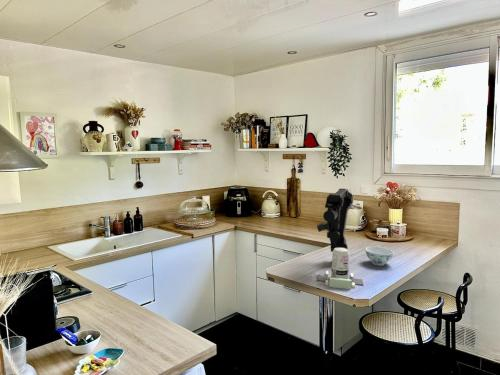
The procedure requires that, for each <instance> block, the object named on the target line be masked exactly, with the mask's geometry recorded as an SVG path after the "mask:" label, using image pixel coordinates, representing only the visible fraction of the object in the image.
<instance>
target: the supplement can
mask: <svg viewBox="0 0 500 375" xmlns="http://www.w3.org/2000/svg"><path fill="white" fill-rule="evenodd" d="M331 261H332V262H331V276H330V277H331V278H342V279H349V272H350V271H349V267H350V251H349V248H348V249H346V248H334V250H333V252H332V256H331Z"/></svg>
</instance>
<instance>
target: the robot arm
mask: <svg viewBox="0 0 500 375" xmlns="http://www.w3.org/2000/svg"><path fill="white" fill-rule="evenodd" d="M353 204H354V195H353V194H352V193H351V192H350V191H349V189H348V188H338V190H337V191H336V192H334V193H329V194H328V195H327V196H326V201H325V205H324V208H325V209H327V210H326V211H324V212H323V216H322V217H323V219H324V221H325V222H321V223H318V224H316V228H317V230H318V232H319V233H320V232H324V231H325V230H326V231H327V232H326V238H327V239H329V242H330V252H332V253H333V250H334V248H346V249H348V250H349V248H348V244H347V240H346V237H345V233H346V227H347V226H346V225H347V219H348V213H349V210H350V209H351V208H352V205H353ZM330 262H331V263H332V260H331V261H330Z"/></svg>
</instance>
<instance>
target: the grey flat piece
mask: <svg viewBox="0 0 500 375" xmlns="http://www.w3.org/2000/svg"><path fill="white" fill-rule="evenodd" d="M316 277H317V278H316V281H317V282H325V286H329V288H336V289H346V290H352V289H354V288H356V286H361V287H363V286H364V281H363V279H362V278H355V277H354V273H353V272H351V273H350V279H349V278H348V279H342V278H332V277H331V276H330V277H329V270H326V271H325V275H323V274H321V275H320V274H317V276H316ZM328 277H329V280H328Z"/></svg>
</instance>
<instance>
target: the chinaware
mask: <svg viewBox="0 0 500 375" xmlns="http://www.w3.org/2000/svg"><path fill="white" fill-rule="evenodd" d="M365 254H366V256H367V258H368V260H369V261H370V262H371V263H372V264H373V265H374V266H385V264H386V263H388V262H390V261H391V259H392V258H393V255H394V251H393V250H392V249H390V248H387V247H382V246H367V247H366V248H365Z"/></svg>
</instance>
